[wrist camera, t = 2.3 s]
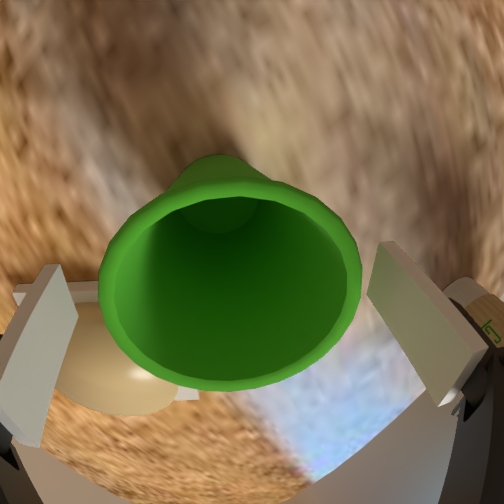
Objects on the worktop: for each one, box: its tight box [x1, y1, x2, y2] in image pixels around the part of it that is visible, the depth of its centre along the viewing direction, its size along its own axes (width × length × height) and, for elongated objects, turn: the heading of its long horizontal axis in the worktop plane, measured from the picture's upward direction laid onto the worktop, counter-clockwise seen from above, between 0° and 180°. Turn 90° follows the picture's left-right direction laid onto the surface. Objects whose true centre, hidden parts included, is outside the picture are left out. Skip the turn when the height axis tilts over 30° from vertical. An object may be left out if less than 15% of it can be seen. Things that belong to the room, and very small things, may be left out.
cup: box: [98, 154, 362, 392], centre depth 15 cm, size 9×9×11 cm
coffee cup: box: [443, 277, 504, 348], centre depth 22 cm, size 10×10×15 cm
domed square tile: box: [12, 281, 199, 416], centre depth 23 cm, size 14×14×4 cm
